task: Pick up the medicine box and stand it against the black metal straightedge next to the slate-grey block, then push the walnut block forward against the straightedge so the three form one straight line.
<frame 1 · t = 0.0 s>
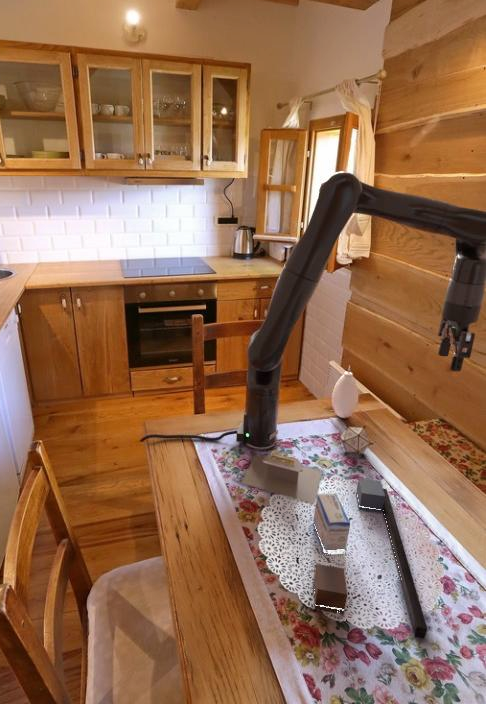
hand: (448, 362, 100), 29 cm above the table, tool pointing down, fingers open, 8 cm apart
straightedge: (397, 554, 82), on the table
medicine box: (328, 540, 85), on the table
platform: (282, 477, 103), on the table
beige icosahedron: (353, 452, 113), on the table
slate block: (368, 503, 95), on the table
air dust blower: (342, 416, 129), on the table
walnut block: (327, 598, 73), on the table
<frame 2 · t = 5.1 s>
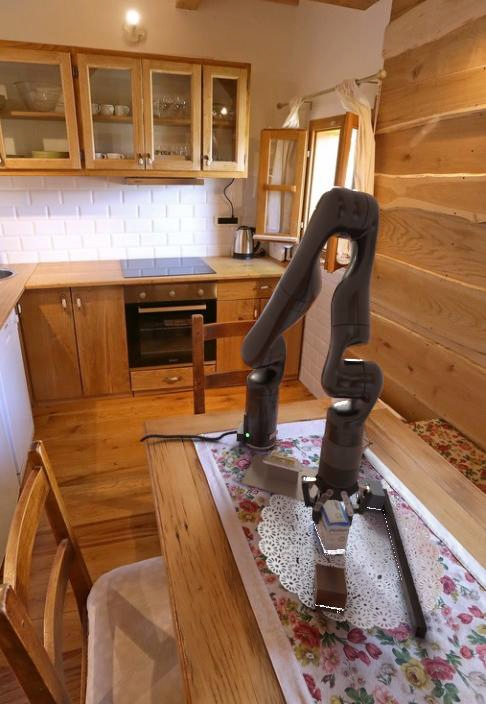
hand: (330, 523, 84), 4 cm above the table, tool pointing down, fingers closed on medicine box, 5 cm apart
medicine box: (328, 540, 85), on the table, touching gripper
everything else where it was.
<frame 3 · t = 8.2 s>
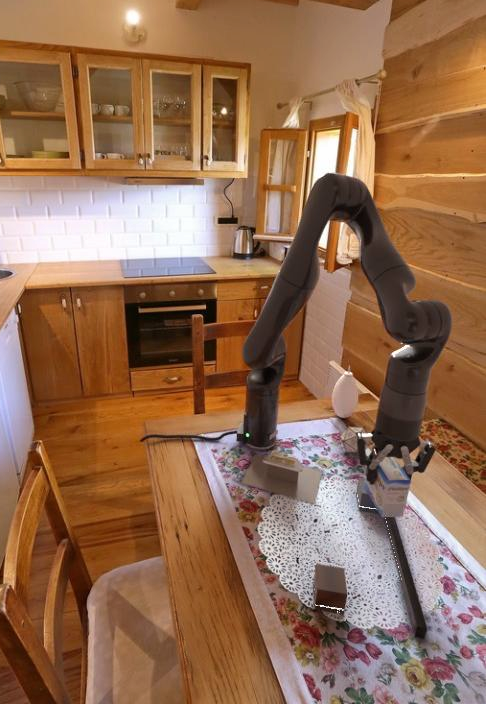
hand: (386, 483, 78), 16 cm above the table, tool pointing down, fingers closed on medicine box, 5 cm apart
medicine box: (382, 502, 80), point 12 cm above the table, touching gripper
everything else where it was.
when the fingers open (4 cm above the table, at t = 11.3 s): medicine box stays where it is, on the table.
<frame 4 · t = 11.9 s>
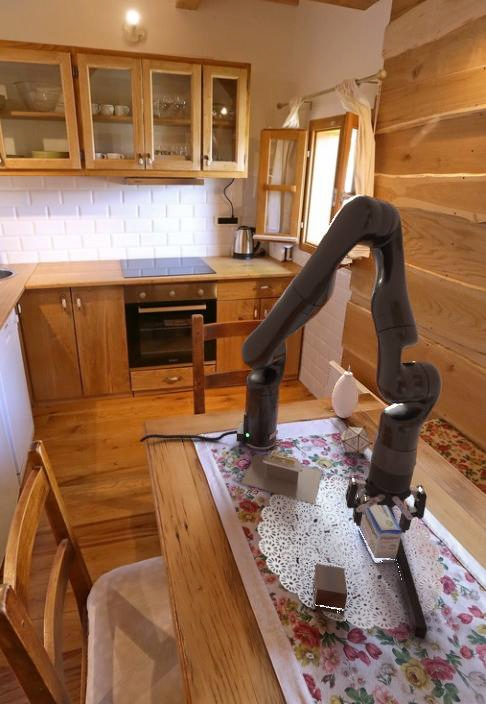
hand: (379, 526, 82), 6 cm above the table, tool pointing down, fingers open, 8 cm apart
medicine box: (375, 547, 84), on the table
everything else where it was.
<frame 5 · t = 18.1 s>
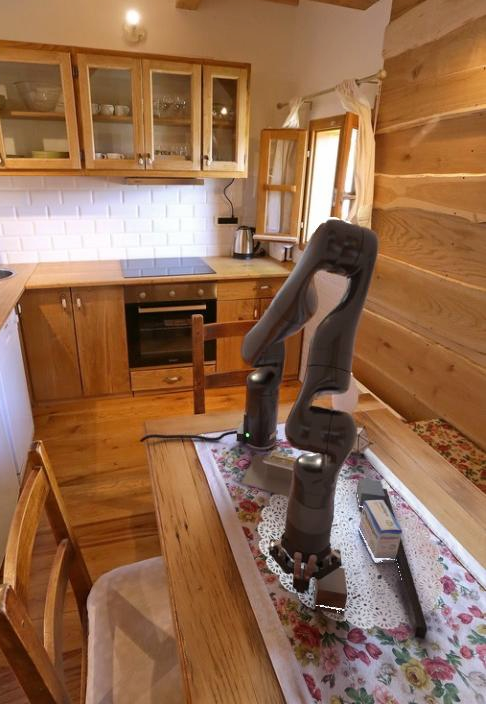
hand: (300, 588, 73), 1 cm above the table, tool pointing down, fingers closed
walnut block: (328, 598, 73), on the table, touching gripper
everything else where it was.
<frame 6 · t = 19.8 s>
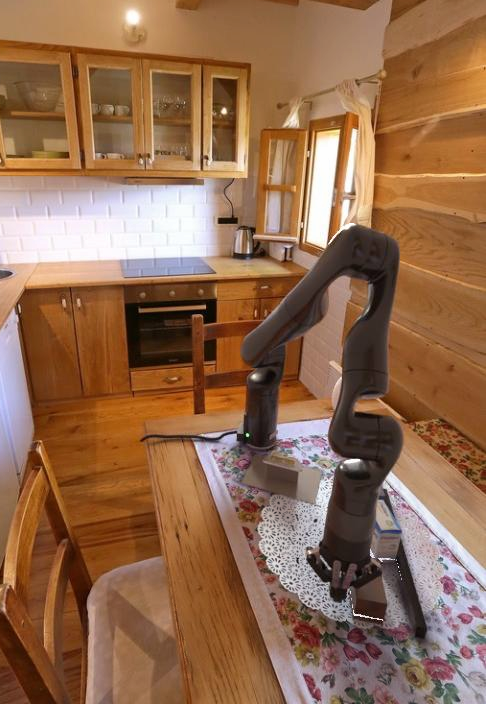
hand: (336, 597, 72), 1 cm above the table, tool pointing down, fingers closed
walnut block: (365, 607, 72), on the table, touching gripper
everything else where it was.
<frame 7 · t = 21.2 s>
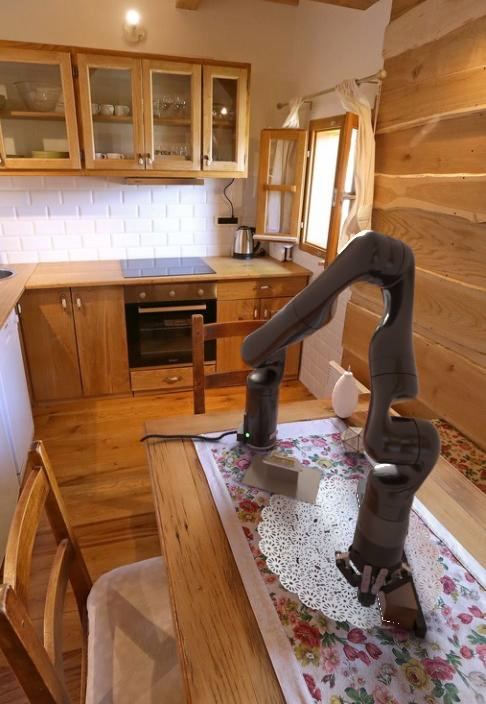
hand: (364, 602, 71), 1 cm above the table, tool pointing down, fingers closed
walnut block: (393, 612, 71), on the table, touching gripper, straightedge
everything else where it was.
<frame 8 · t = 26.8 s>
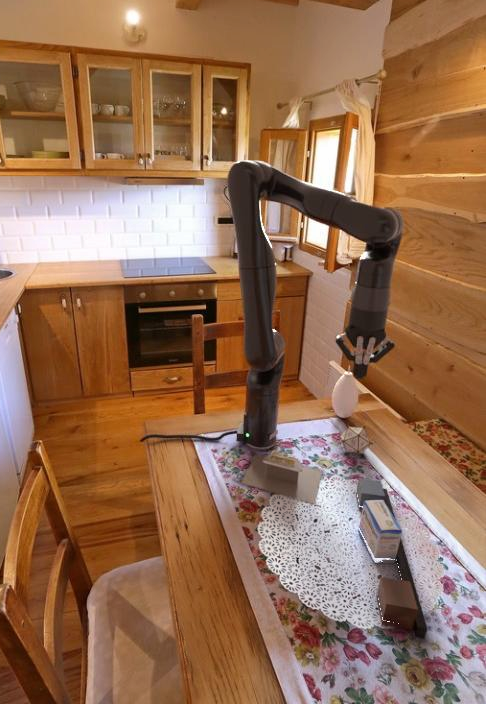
hand: (358, 377, 92), 29 cm above the table, tool pointing down, fingers closed
walnut block: (393, 612, 71), on the table
everything else where it was.
at the end: medicine box 0.3 cm from the target spot, on the table; medicine box tilted 0°; walnut block 0.5 cm from the target spot, on the table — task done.
